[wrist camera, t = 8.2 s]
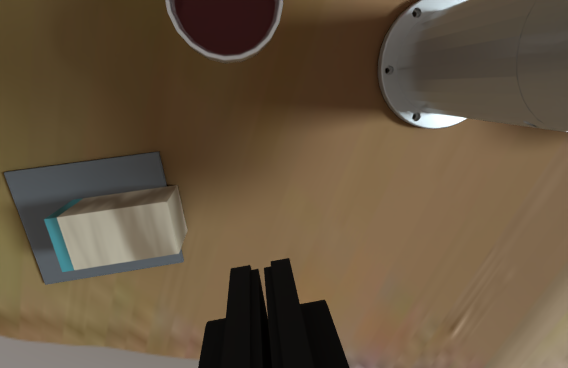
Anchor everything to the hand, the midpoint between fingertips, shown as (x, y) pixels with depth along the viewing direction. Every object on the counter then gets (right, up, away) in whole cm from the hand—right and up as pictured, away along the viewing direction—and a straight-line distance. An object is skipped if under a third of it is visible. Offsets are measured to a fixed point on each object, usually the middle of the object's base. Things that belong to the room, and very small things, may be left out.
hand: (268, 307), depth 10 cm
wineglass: (-5, +17, +21) cm, 28 cm away
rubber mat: (-18, 0, +24) cm, 30 cm away
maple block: (-10, 0, +22) cm, 24 cm away
